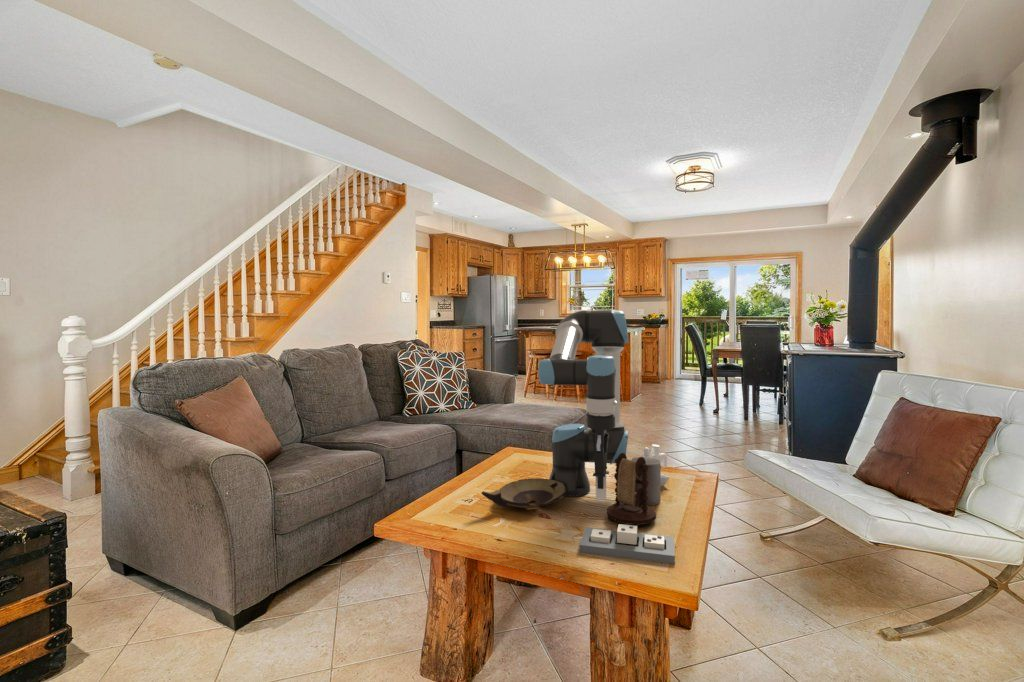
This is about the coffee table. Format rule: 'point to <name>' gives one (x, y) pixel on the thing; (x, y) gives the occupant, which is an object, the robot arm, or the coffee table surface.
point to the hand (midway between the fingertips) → (601, 498)
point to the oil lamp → (527, 493)
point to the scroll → (631, 493)
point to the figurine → (659, 456)
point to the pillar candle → (651, 480)
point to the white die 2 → (627, 534)
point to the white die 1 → (601, 536)
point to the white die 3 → (654, 541)
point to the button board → (628, 547)
